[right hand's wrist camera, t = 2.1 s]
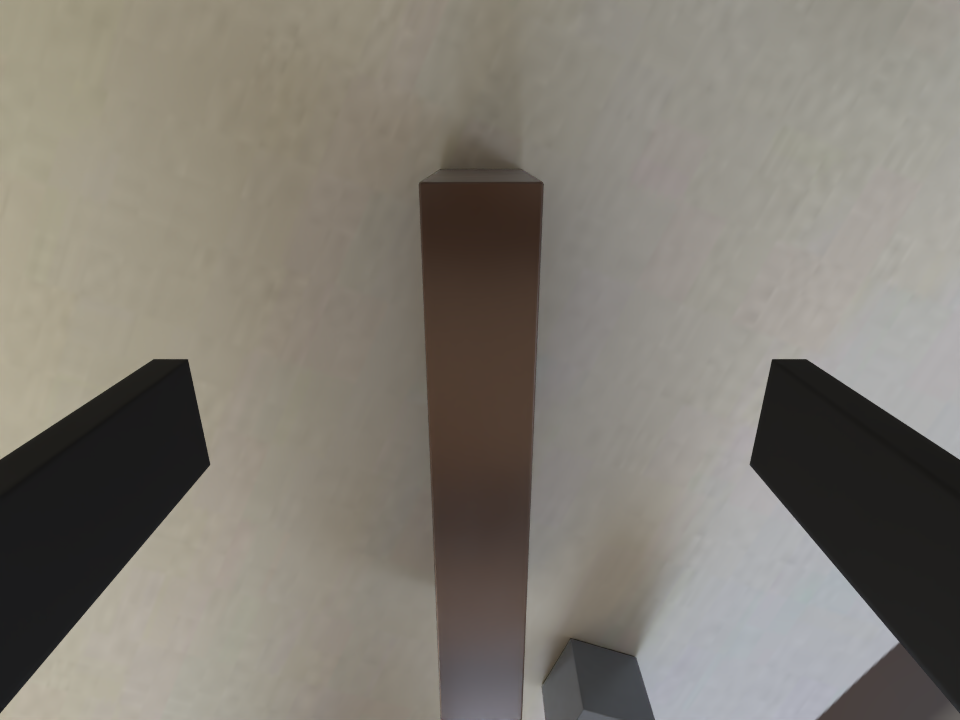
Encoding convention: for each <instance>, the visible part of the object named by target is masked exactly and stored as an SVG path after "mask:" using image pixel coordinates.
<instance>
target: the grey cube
mask: <svg viewBox="0 0 960 720" xmlns="http://www.w3.org/2000/svg"><path fill="white" fill-rule="evenodd" d="M542 694H543V703H544V712H545V720H655V718H654V715H653V712H652V708H651V705H650V702H649V698H648V695H647V692H646V688H645V685H644V682H643V678H642V675H641V672H640V669H639V665H638V662H637V659H636V657H633V656H629V655H626V654H623V653H619V652H616V651H612V650H609V649H605V648H602V647H598V646H595V645H591V644H588V643H585V642H581V641H578V640H574V639H570V640H569V642H568V644H567V645H566V647H565V649H564V650H563V652H562V654H561V655H560V657H559V659H558V660H557V662H556V664H555V665H554V667H553V669H552V670H551V672H550V674H549V675H548V677H547V679H546V680H545V682H544V683H543V685H542Z"/></svg>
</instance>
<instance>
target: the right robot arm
mask: <svg viewBox="0 0 960 720" xmlns="http://www.w3.org/2000/svg"><path fill="white" fill-rule="evenodd" d="M209 466H210V461H209V456H208V452H207V447H206V442H205V438H204V433H203V428H202V424H201V419H200V414H199V409H198V405H197V400H196V395H195V391H194V386H193V381H192V377H191V372H190V367H189V362H188V359H153V360H152V361H150V362H149V363H147V364H146V365H144V366H143V367H141V368H140V369H138V370H137V371H135V372H134V373H132V374H131V375H129V376H127V377H126V378H124V379H123V380H121V381H120V382H118V383H117V384H115V385H114V386H112V387H111V388H109V389H108V390H106V391H105V392H103V393H102V394H100V395H98V396H97V397H95V398H94V399H92V400H91V401H89V402H88V403H86V404H85V405H83V406H82V407H80V408H79V409H77V410H76V411H74V412H72V413H71V414H69V415H68V416H66V417H65V418H63V419H62V420H60V421H59V422H57V423H56V424H54V425H53V426H51V427H50V428H48V429H47V430H45V431H43V432H42V433H40V434H39V435H37V436H36V437H34V438H33V439H31V440H30V441H28V442H27V443H25V444H24V445H22V446H21V447H19V448H18V449H16V450H14V451H13V452H11V453H10V454H8V455H7V456H5V457H4V458H2V459H1V460H0V713H1V712H2V711H3V709H4V708H5V707H6V706H7V705H8V703H9V702H10V701H11V700H12V699H13V698H14V696H15V695H16V694H17V693H18V692H19V690H20V689H21V688H22V687H23V686H24V684H25V683H26V682H27V681H28V680H29V679H30V677H31V676H32V675H33V674H34V673H35V671H36V670H37V669H38V668H39V667H40V666H41V664H42V663H43V662H44V661H45V660H46V658H47V657H48V656H49V655H50V654H51V653H52V651H53V650H54V649H55V648H56V647H57V645H58V644H59V643H60V642H61V641H62V640H63V638H64V637H65V636H66V635H67V634H68V632H69V631H70V630H71V629H72V628H73V627H74V625H75V624H76V623H77V622H78V621H79V619H80V618H81V617H82V616H83V615H84V614H85V612H86V611H87V610H88V609H89V608H90V606H91V605H92V604H93V603H94V602H95V601H96V599H97V598H98V597H99V596H100V595H101V593H102V592H103V591H104V590H105V589H106V588H107V586H108V585H109V584H110V583H111V582H112V580H113V579H114V578H115V577H116V576H117V574H118V573H119V572H120V571H121V570H122V569H123V567H124V566H125V565H126V564H127V563H128V561H129V560H130V559H131V558H132V557H133V556H134V554H135V553H136V552H137V551H138V550H139V548H140V547H141V546H142V545H143V544H144V543H145V541H146V540H147V539H148V538H149V537H150V535H151V534H152V533H153V532H154V531H155V530H156V528H157V527H158V526H159V525H160V524H161V522H162V521H163V520H164V519H165V518H166V517H167V515H168V514H169V513H170V512H171V511H172V509H173V508H174V507H175V506H176V505H177V504H178V502H179V501H180V500H181V499H182V498H183V496H184V495H185V494H186V493H187V492H188V491H189V489H190V488H191V487H192V486H193V485H194V483H195V482H196V481H197V480H198V479H199V477H200V476H201V475H202V474H203V473H204V472H205V470H206V469H207V468H208V467H209ZM750 466H751V467H752V468H753V469H754V470H755V472H756V473H757V474H758V475H759V476H760V477H761V479H762V480H763V481H764V482H765V483H766V485H767V486H768V487H769V488H770V489H771V491H772V492H773V493H774V494H775V495H776V496H777V498H778V499H779V500H780V501H781V502H782V504H783V505H784V506H785V507H786V508H787V509H788V511H789V512H790V513H791V514H792V515H793V517H794V518H795V519H796V520H797V521H798V522H799V524H800V525H801V526H802V527H803V528H804V530H805V531H806V532H807V533H808V534H809V535H810V537H811V538H812V539H813V540H814V541H815V543H816V544H817V545H818V546H819V547H820V548H821V550H822V551H823V552H824V553H825V554H826V556H827V557H828V558H829V559H830V560H831V561H832V563H833V564H834V565H835V566H836V567H837V569H838V570H839V571H840V572H841V573H842V574H843V576H844V577H845V578H846V579H847V580H848V582H849V583H850V584H851V585H852V586H853V588H854V589H855V590H856V591H857V592H858V593H859V595H860V596H861V597H862V598H863V599H864V601H865V602H866V603H867V604H868V605H869V606H870V608H871V609H872V610H873V611H874V612H875V614H876V615H877V616H878V617H879V618H880V619H881V621H882V622H883V623H884V624H885V625H886V627H887V628H888V629H889V630H890V631H891V632H892V634H893V635H894V636H895V637H896V638H897V640H898V641H899V642H900V643H901V644H902V645H903V647H904V648H905V649H906V650H907V651H908V653H909V654H910V655H911V656H912V657H913V658H914V660H915V661H916V662H917V663H918V664H919V666H920V667H921V668H922V669H923V670H924V671H925V673H926V674H927V675H928V676H929V677H930V679H931V680H932V681H933V682H934V683H935V684H936V686H937V687H938V688H939V689H940V690H941V692H942V693H943V694H944V695H945V696H946V697H947V699H948V700H949V701H950V702H951V703H952V705H953V706H954V707H955V708H956V709H957V711H958V712H959V713H960V460H959V459H958V458H956V457H955V456H953V455H952V454H950V453H949V452H947V451H946V450H944V449H942V448H941V447H939V446H938V445H936V444H935V443H933V442H932V441H930V440H929V439H927V438H926V437H924V436H923V435H921V434H920V433H918V432H917V431H915V430H913V429H912V428H910V427H909V426H907V425H906V424H904V423H903V422H901V421H900V420H898V419H897V418H895V417H894V416H892V415H891V414H889V413H888V412H886V411H884V410H883V409H881V408H880V407H878V406H877V405H875V404H874V403H872V402H871V401H869V400H868V399H866V398H865V397H863V396H862V395H860V394H858V393H857V392H855V391H854V390H852V389H851V388H849V387H848V386H846V385H845V384H843V383H842V382H840V381H839V380H837V379H836V378H834V377H833V376H831V375H829V374H828V373H826V372H825V371H823V370H822V369H820V368H819V367H817V366H816V365H814V364H813V363H811V362H810V361H808V360H807V359H772V362H771V367H770V372H769V377H768V381H767V386H766V391H765V395H764V400H763V405H762V409H761V414H760V419H759V424H758V428H757V433H756V438H755V442H754V447H753V452H752V456H751V461H750Z"/></svg>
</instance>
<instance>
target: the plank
mask: <svg viewBox="0 0 960 720" xmlns="http://www.w3.org/2000/svg"><path fill="white" fill-rule="evenodd" d="M543 187H544V184H543V182H541V181H540V180H538V179H537V178H535V177H534V176H532V175H530V174H529V173H527V172H526V171H524V170H522V169H440V170H438V171H436V172H435V173H433V174H432V175H430V176H429V177H427V178H426V179H424V180H423V181H421V182H420V183H419V200H420V224H421V249H422V273H423V298H424V322H425V347H426V371H427V396H428V420H429V445H430V469H431V493H432V518H433V542H434V567H435V591H436V616H437V640H438V665H439V689H440V713H441V720H522V702H523V678H524V653H525V629H526V604H527V580H528V555H529V530H530V506H531V481H532V457H533V432H534V408H535V383H536V359H537V334H538V309H539V285H540V260H541V236H542V211H543Z"/></svg>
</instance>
